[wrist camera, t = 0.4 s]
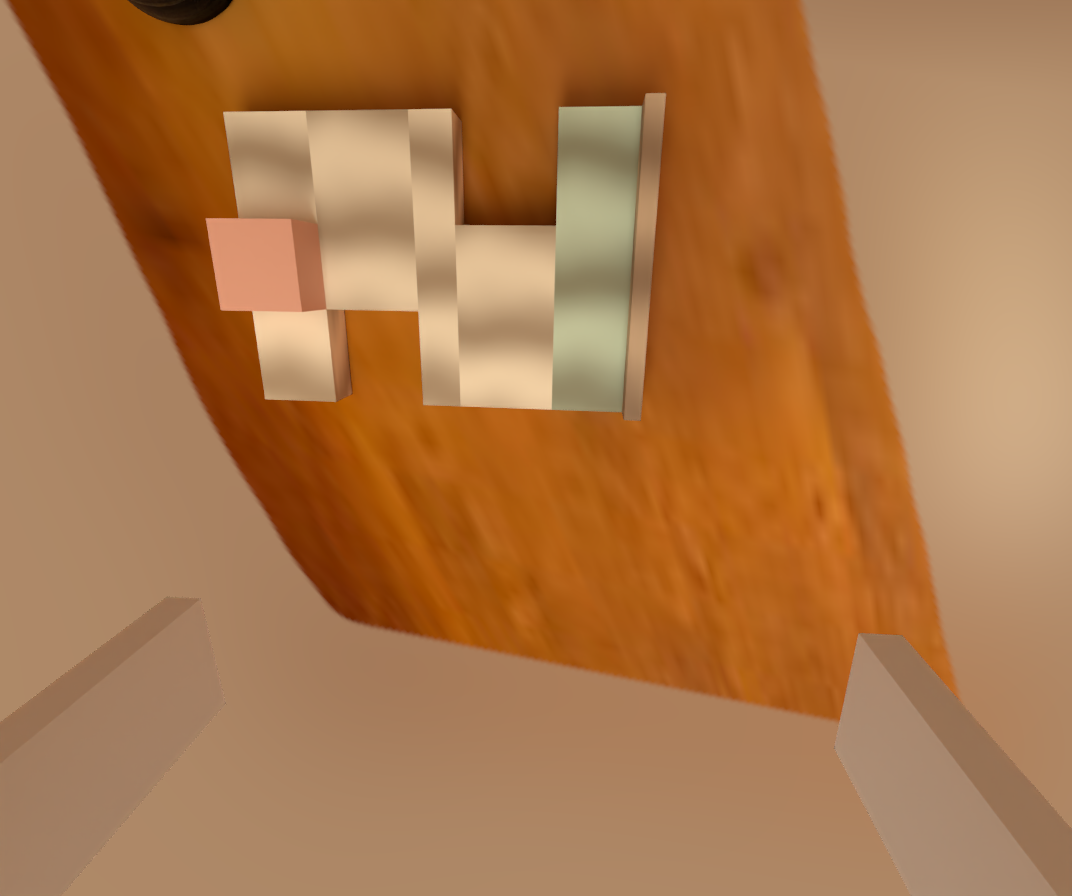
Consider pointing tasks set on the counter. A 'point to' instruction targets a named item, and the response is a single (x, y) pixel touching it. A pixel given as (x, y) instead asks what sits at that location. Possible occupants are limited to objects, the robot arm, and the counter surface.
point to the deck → (461, 255)
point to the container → (182, 10)
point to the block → (267, 264)
